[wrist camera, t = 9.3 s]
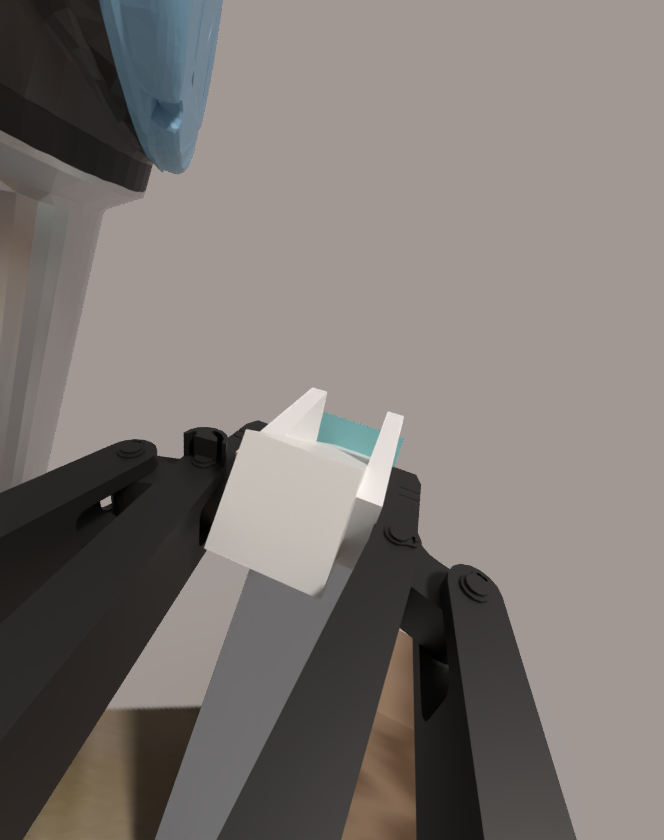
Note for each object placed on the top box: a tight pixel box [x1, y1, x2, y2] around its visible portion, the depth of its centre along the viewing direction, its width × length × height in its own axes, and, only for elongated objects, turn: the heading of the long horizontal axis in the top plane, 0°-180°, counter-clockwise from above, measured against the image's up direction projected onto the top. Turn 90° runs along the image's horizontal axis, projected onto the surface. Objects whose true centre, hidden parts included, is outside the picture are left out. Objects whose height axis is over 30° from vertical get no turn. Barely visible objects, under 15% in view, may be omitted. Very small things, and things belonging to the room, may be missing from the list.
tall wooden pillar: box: [341, 631, 417, 840], centre depth 27 cm, size 10×12×20 cm
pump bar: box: [204, 412, 404, 600], centre depth 18 cm, size 6×21×5 cm, turn 171°
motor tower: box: [155, 563, 353, 840], centre depth 29 cm, size 10×12×30 cm
